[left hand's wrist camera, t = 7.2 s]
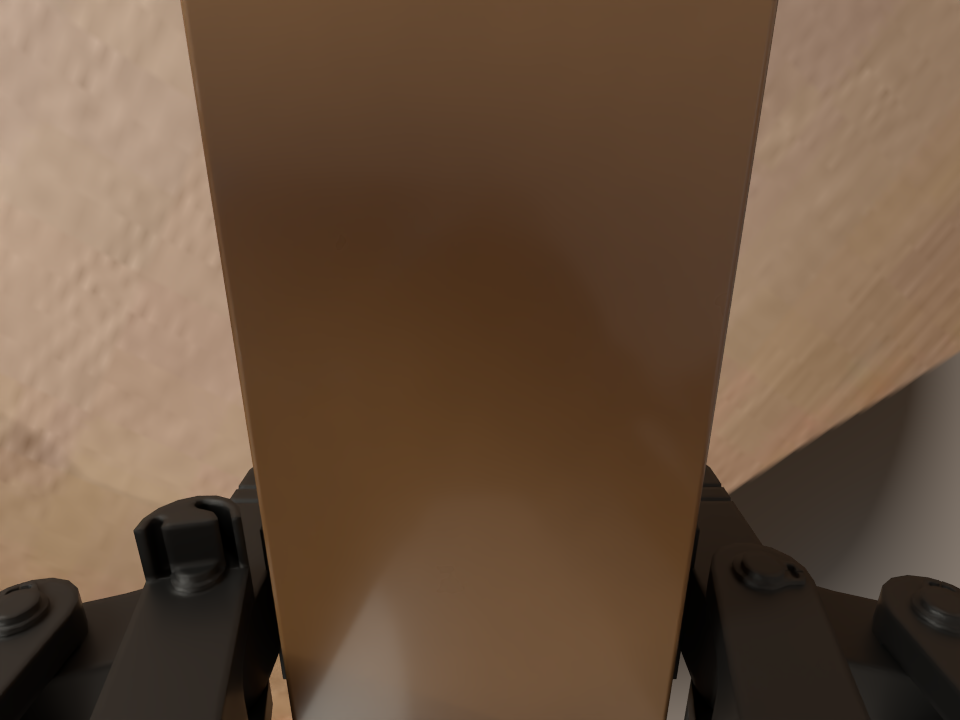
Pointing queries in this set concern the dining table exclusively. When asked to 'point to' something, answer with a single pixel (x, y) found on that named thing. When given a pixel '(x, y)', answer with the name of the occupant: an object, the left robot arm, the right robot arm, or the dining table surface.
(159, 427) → the dining table surface
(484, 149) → the bar
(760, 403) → the dining table surface
